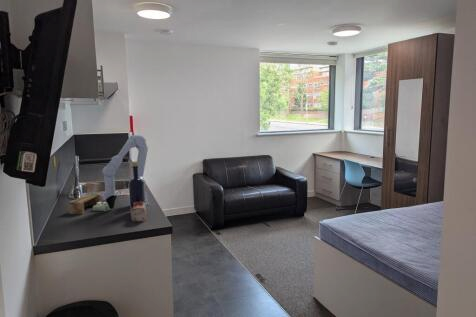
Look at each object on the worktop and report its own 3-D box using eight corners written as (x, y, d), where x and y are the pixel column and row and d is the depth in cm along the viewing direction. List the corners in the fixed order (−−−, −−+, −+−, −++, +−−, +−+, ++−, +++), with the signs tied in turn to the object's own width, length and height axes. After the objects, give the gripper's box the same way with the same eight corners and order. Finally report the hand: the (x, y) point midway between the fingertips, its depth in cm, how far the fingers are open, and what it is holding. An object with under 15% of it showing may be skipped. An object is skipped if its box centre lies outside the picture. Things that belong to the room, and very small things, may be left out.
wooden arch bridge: (101, 204, 217) (101, 194, 216) (83, 214, 198) (82, 202, 197) (89, 204, 219) (88, 194, 218) (69, 213, 200) (68, 202, 199)
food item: (146, 222, 182) (145, 204, 180) (131, 223, 180) (129, 205, 178) (146, 214, 195) (145, 198, 193) (132, 216, 193) (131, 199, 192)
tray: (111, 208, 208) (110, 201, 208) (106, 211, 203) (106, 203, 203) (97, 208, 210) (97, 201, 209) (92, 210, 205) (92, 203, 204)
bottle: (147, 209, 205) (144, 160, 200) (144, 214, 195) (140, 162, 191) (132, 210, 204) (129, 160, 200) (127, 214, 195) (124, 163, 191)
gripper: (110, 183, 211) (111, 204, 213) (96, 188, 197) (98, 211, 199) (120, 183, 210) (122, 205, 212) (108, 189, 196) (109, 211, 198)
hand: (111, 208), depth 205 cm, fingers closed
